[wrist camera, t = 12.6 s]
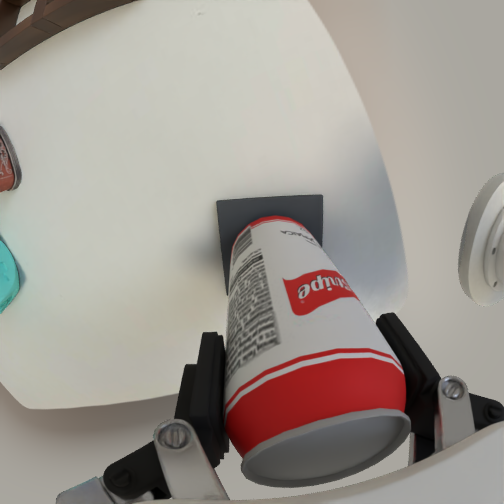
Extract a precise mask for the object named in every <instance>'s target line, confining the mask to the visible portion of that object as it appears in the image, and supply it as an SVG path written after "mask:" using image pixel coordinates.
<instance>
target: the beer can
mask: <svg viewBox="0 0 504 504" xmlns="http://www.w3.org/2000/svg"><path fill="white" fill-rule="evenodd" d="M405 403H406V383H405V376H404V372H403V368H402V366H401V364H400V362H399V360H398V359H397V357H396V355H395V354H394V352H393V351H392V349H391V347H390V346H389V344H388V343H387V341H386V340H385V338H384V336H383V335H382V333H381V332H380V330H379V329H378V327H377V326H376V324H375V323H374V321H373V320H372V318H371V317H370V315H369V314H368V312H367V311H366V309H365V308H364V306H363V305H362V303H361V302H360V301H359V299H358V298H357V296H356V295H355V293H354V292H353V290H352V289H351V288H350V286H349V285H348V283H347V282H346V280H345V279H344V278H343V276H342V275H341V273H340V272H339V271H338V269H337V268H336V267H335V265H334V264H333V262H332V261H331V260H330V258H329V257H328V256H327V254H326V253H325V252H324V250H323V249H322V248H321V246H320V245H319V244H318V242H317V241H316V240H315V238H314V237H313V236H312V234H311V233H310V232H309V231H308V230H307V229H306V228H305V227H304V226H303V225H302V224H301V223H299V222H297V221H295V220H293V219H291V218H289V217H283V216H276V215H275V216H269V217H263V218H260V219H258V220H256V221H254V222H252V223H250V224H248V225H247V226H246V227H245V228H244V229H243V230H242V231H241V232H240V233H239V234H238V236H237V238H236V240H235V242H234V244H233V247H232V253H231V262H230V277H229V292H228V309H227V327H226V345H225V372H224V394H223V424H224V427H225V431H226V433H227V435H228V437H229V439H230V440H231V442H232V444H233V446H234V447H235V449H236V450H237V452H238V453H239V454H240V456H241V457H242V458H243V461H242V463H241V471H242V473H243V474H244V476H245V477H246V479H248V480H250V481H252V482H255V483H257V484H260V485H265V486H270V487H282V488H285V487H286V488H294V487H306V486H314V485H319V484H324V483H328V482H332V481H336V480H339V479H342V478H345V477H348V476H351V475H354V474H356V473H359V472H361V471H363V470H365V469H367V468H369V467H371V466H373V465H375V464H377V463H378V462H380V461H381V460H383V459H384V458H386V457H387V456H389V455H390V454H392V453H393V452H394V451H395V450H396V449H397V448H398V447H399V446H400V445H401V444H402V443H403V442H404V441H405V439H406V438H407V436H408V435H409V433H410V431H411V421H410V419H409V417H408V416H407V415H406V414H404V411H405Z"/></svg>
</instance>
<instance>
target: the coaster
mask: <svg viewBox="0 0 504 504" xmlns="http://www.w3.org/2000/svg"><path fill="white" fill-rule="evenodd" d="M216 203H217V213H218V223H219V232H220V242H221V251H222V260H223V268H224V277H225V285H226V293H227V296H228V292H229V277H230V262H231V253H232V247H233V244H234V242H235V240H236V238H237V236H238V234H239V233H240V232H241V231H242V230H243V229H244V228H245V227H246V226H247V225H248V224H250V223H252V222H254V221H256V220H258V219H260V218H263V217H269V216H275V215H276V216H283V217H289V218H291V219H293V220H295V221H297V222H299V223H301V224H302V225H303V226H304V227H305V228H306V229H307V230H308V231H309V232H310V233H311V234H312V236H313V237H314V238H315V240H316V241H317V242H318V244H319V245H320V246H321V248H322V234H323V195H298V196H277V197H260V198H245V199H232V200H219V201H217V202H216Z"/></svg>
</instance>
